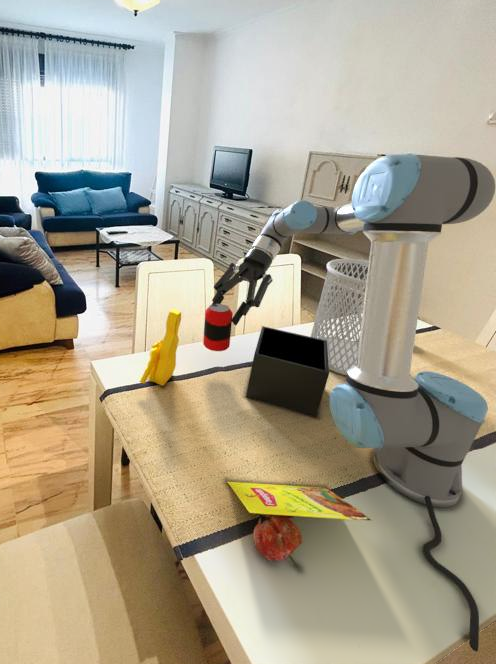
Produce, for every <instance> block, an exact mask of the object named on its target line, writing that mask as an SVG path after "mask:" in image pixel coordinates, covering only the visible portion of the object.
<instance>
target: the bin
mask: <svg viewBox="0 0 496 664" xmlns="http://www.w3.org/2000/svg"><path fill="white" fill-rule="evenodd" d="M317 338H318V337H317ZM317 338H313V337H311V336H308V335H303V334H299V333H295V332H290V331H285V330H281V329H277V328H272V327H269V326H265V325H264V326H263V325H262V326H261V329H260V332H259V336H258V340H257V344H256V347H255V350H254V354H253V359H252V364H251V368H250V374H249V378H248V384H247V390H246V394H245V398H248V399H251V400H254V401H258V402H261V403H265V404H267V405H272V406H275V407H278V408H280V409H281V408H282V409H285V410H287V411H292V412H294V413H298V414H301V415H305V416H309V417H313V418H317V416H318V413H319V409H320V406H321V403H322V400H323V396H324V392H325V389H326V386H327V383H328V379H329V375H330V369H329V362H328V348H327V341H326V340H322V339H317Z"/></svg>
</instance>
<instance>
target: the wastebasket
mask: <svg viewBox="0 0 496 664" xmlns="http://www.w3.org/2000/svg"><path fill="white" fill-rule="evenodd" d="M368 264H369V260H366V259H358V258H357V259H355V258H337V259H332V260H330V261H328V262H327V263H326V270H327V271H326V275H325V279H324V283H323V287H322V291H321V295H320V298H319V302H318V306H317V310H316V313H315V318H314V322H313V326H312V330H311V333H310V337H313V338H317V339H322V340H326V341H327V348H328V362H329V371H332V372H334V373H337V374H340V375H343V376H346V374H347V370H348V369H349V368H351V367H353V366H354V365H356V364H357V357H358V348H359V340H360V331H361V323H362V315H363V306H364V298H365V292H364V290H366V281H367V273H366V270H367V269H368ZM344 267H345V269H343V268H344ZM349 267H350V269H349ZM355 267H356V269H355V271H354V268H355ZM361 267H362V270H361V271H360V269H361ZM348 269H349V270H348ZM345 273H346V274H345ZM356 273H357V276H356V277H355V274H356ZM350 274H351V276H350ZM362 274H363V277H362V278H361V275H362ZM351 287H352V289H351ZM358 287H359V289H358V291H357V288H358ZM359 295H360V297H359ZM336 315H337V316H336ZM337 320H338V321H337ZM357 320H358V321H357ZM333 326H334V327H333ZM334 332H335V333H334ZM345 332H346V333H345ZM333 333H334V334H333Z"/></svg>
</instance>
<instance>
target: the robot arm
mask: <svg viewBox="0 0 496 664" xmlns="http://www.w3.org/2000/svg"><path fill="white" fill-rule="evenodd" d="M495 193H496V180H495V177H494V175H493V173H492V172H491V171H490V170H489V168H488V167H487V166H485V165H484V164H483V163H481V162H479V161H477V160H475V159H472V158H468V157H457V156H454V157H452V156H440V155H439V156H438V155H426V154H415V153H403V154H402V153H401V154H388V155H384V156H381V157H379V158H376V159H375V160H374V161H372V162H371V163H370V164H368V165H367V166H366V168H365V169H364V171H363V172H361V174H360V176H359V177H358V179H357V180H356V183H355V185H354V188H353V191H352V195H351V202H350V203H346V204H343V205H338V206H319V205H317V206H316V205H314V203H312V202H310V201H308V200H307V199H306V200H305V199H300V200H297V201H295V202H293V203H291V204H290V205H288V206H287V207H286V208H282V209H281V208H277V209H276V210H274V212H273V213H272V214H271V216H269V218H268V220H267V222H266V224H265V225H264V226H263V229H261V231H260V233H259V235H258V236H257V237H256V238H255V241H254V242H253V244H252V245H251V247H250V249H249V250H248V252H247V253H246V255H245V256H244V258H243V261H242V262H241V263H239V264H235V263H234V262H231V263H230V264H229V266H228V268H227V269H226V271H225V272H224V273H223V274H222V275H221V277H220V278H219V279H218V280H217V282H216V283H215V284H214V285H213V289H214V290H215V291H216V293H215V295H214V296H213V298H212V300H211V301H212V303H211V305H212V304H222V302H223V301H224V299H225V296H224V295H225V294H227V293H228V292H229V291H231V289H233V288H234V287H236V286H237V285H238V284H239V283H242V282H243V281H244V282H248V290H247V294H246V299H245V301H242V302H241V304H240V305H239V307H238V308H237V310H236V311H235V314H233V316H232V320H231V321H232V325H234V326H237V325H238V324H239V322H240V321H241V319H242V317H243V316H244V317H245V316H247V315H248V314H249V313H248V312H249V311H250V310H251V308H252V307H255V308H260V307H261V304H262V302H263V299H264V297H265V294H266V293H267V292H266V291H267V289H268V287H269V285H271V283H273V280H274V279H273V278H272V276H271V274H270V273H269V274H267V271H268V270H269V268H270V266H272V263H273V261H274V260H275V259H276V257H277V255H278V254H279V252H280V250H281V249H282V247H283V245H284V244H285V243H286V241H287V240H288V239H289V238H290V237H293V236H295V235H296V234H319V235H320V234H324V235H325V234H326V235H329V234H330V235H340V236H347V235H355V234H356V233H357V232H358V231H362V233H363V234H364V235H365V236H366V238H367V239H368V240H369V241H370V249H369V257H368V261H369V264H368V267H367V272H366V274H367V276H366V287H365V289H364V290H365V291H364V293H365V298H364V306H363V305H362V307H363V310H362V311H363V313H362V314H361V317H362V323H361V331H359V337H360V340H359V341H358V343H359V348H358V357H357V364H356V365H354V366H353V367H351V368H349V369H348V370H347V374H346V375H345V383H339V384H338V385H335V386H334V388H333V389H331V392H330V394H329V409H330V414H331V417H332V421H333V422H334V424H335V427H336V429H337V430H338V432H339V433H340V434H341V436H342V438H344V439H345V440H346V441H347V442H348V443H349V444H351V445H352V446H355V447H357V448H361V449H374V450H375V452H374V454H373V465H374V467H375V469H376V471H377V472H378V474H379V475H380V477H381V478H382V479H383V480H384V481H385V482H386V483H387V484H388V485H389V486H390V487H391V488H393V489H394V490H396V491H397V492H398V493H400V494H402V495H403V496H405V497H407V498H409V499H411V500H413V501H415V502H417V503H420V504H422V505H426V510H427V513H428V517H429V520H430V523H431V525H432V528H433V532H434V536H433V539H432V540H429V541H428V542H425V543H424V544H423V546H422V552H423V555H424V558H425V559H426V560H427V562H429V564H430V565H431V566H433V567H434V569H436V570H438V571H439V572H440V573H441V574H443V575H444V576H445V577H447V578H448V579H450V580H451V581H452V582H453V583H455V585H456V586H457V587H458V588H459V589H460V591H461V593H462V595H463V596H464V597H465V599H466V602H467V604H468V607H469V641H468V644H469V648H470V649H472V651H474V652H478V651H479V641H480V639H479V638H480V636H479V635H480V634H479V633H480V614H479V609H478V604H477V602H476V601H475V598H474V596H473V594H472V592H471V591H470V590H469V588H468V587H467V585H466V583H464V581H463V580H461V578H459V577H458V576H457V575H456V574H454V572H452V571H451V570H450V569H448V568H446V567H445V566H443V565H442V564H441V563H439V561H437V560H436V559H435V557H433V555H432V553H431V550H432V549H433V548H436V547H438V546H440V544H441V543H442V536H443V535H442V531H441V527H440V525H439V522H438V519H437V516H436V513H435V509H434V508H449V507H452V506H454V505H456V504H457V503H458V501H459V499H460V497H461V496H462V493H463V463H464V460H465V458H466V456H467V455H468V453H469V451H470V449H471V447H472V445H473V443H474V441H475V439H476V437H477V435H478V434H479V431H480V429H481V428H482V425H483V424H485V422H486V421H485V418H486V416H487V414H488V411H489V406H488V403H487V401H486V399H485V398H484V397H483V396H482V394H480V393H479V392H477V391H476V390H475V389H474V388H473V387H471V386H469V385H468V384H465V383H463V382H462V381H459V380H458V379H455V378H453V377H450V376H448V375H445V374H442V373H438V372H434V371H427V370H425V371H420V372H418V373H417V374H416V376H415V377H413V376H412V375H411V368H412V362H413V354H414V348H415V340H416V335H417V328H418V327H417V326H418V319H419V312H420V306H421V305H420V304H421V299H422V291H423V284H424V276H425V269H426V264H427V256H428V248H429V244H430V243H431V242H432V241H434V240H435V239H437V238H438V237H439V236H441V235H442V234H441V233H442V227H443V225H455V224H461V223H465V222H468V221H470V220H473V219H474V218H476V217H478V216H479V215H480V214H482V213H483V212H484V211H485V210H486V209H487V208H488V207H489V206H490V204H491V203H492V201H493V199H494V196H495ZM261 279H262V280H261ZM259 280H261V282H260V285H259V286H258V281H259ZM257 286H258V289H257V291H256V287H257ZM255 293H256V294H255Z"/></svg>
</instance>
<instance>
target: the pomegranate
mask: <svg viewBox="0 0 496 664" xmlns="http://www.w3.org/2000/svg"><path fill="white" fill-rule="evenodd" d="M254 514H255V515H257V516H259V519H258V522H257V524H256V525H255V526H254V529H253V541H254V545H255V548H256V550H257V551H258V553H259V554H260V555H261V556H262V557H263V558H264V559H267V560H268V561H270V562H273V561H274V560H275V561H277V562H282V561H285V559H286V558H287V557H289V558H290V559H291V561H292V562H293V564H294V565H295V566H296V568H299V566H298V564H297V563H296V561H295V559H294V558H293V556H292V554H293V553H294V552H295V550H296V549H298V547H299V546H300V545H302V543H303V536H302V533H301V530H300V529H299V527H298V526H297V525H296V523H295V522H294V521H293V520H292V519H291V518H290V516H285V515H269V514H258V513H254Z"/></svg>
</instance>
